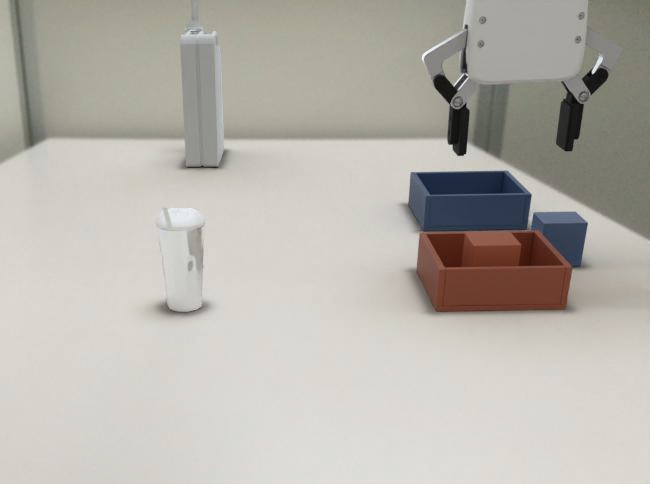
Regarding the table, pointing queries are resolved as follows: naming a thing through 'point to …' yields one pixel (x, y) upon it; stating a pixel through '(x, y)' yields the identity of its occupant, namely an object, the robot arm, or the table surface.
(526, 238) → the terracotta bin
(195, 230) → the milkshake
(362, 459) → the table surface
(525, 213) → the slate bin
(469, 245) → the terracotta block
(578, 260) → the slate block
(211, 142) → the jerry can
